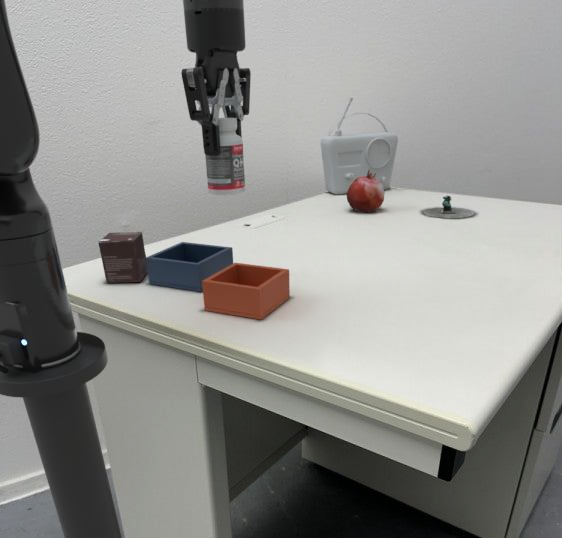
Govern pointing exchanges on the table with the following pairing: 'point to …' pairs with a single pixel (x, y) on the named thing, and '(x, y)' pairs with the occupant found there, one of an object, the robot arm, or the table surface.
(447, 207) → the sculpture
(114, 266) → the box
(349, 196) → the fruit
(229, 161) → the pill bottle
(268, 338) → the table surface
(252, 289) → the terracotta bin
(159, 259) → the slate bin
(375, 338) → the table surface
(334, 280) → the table surface
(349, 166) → the radio
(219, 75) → the robot arm
